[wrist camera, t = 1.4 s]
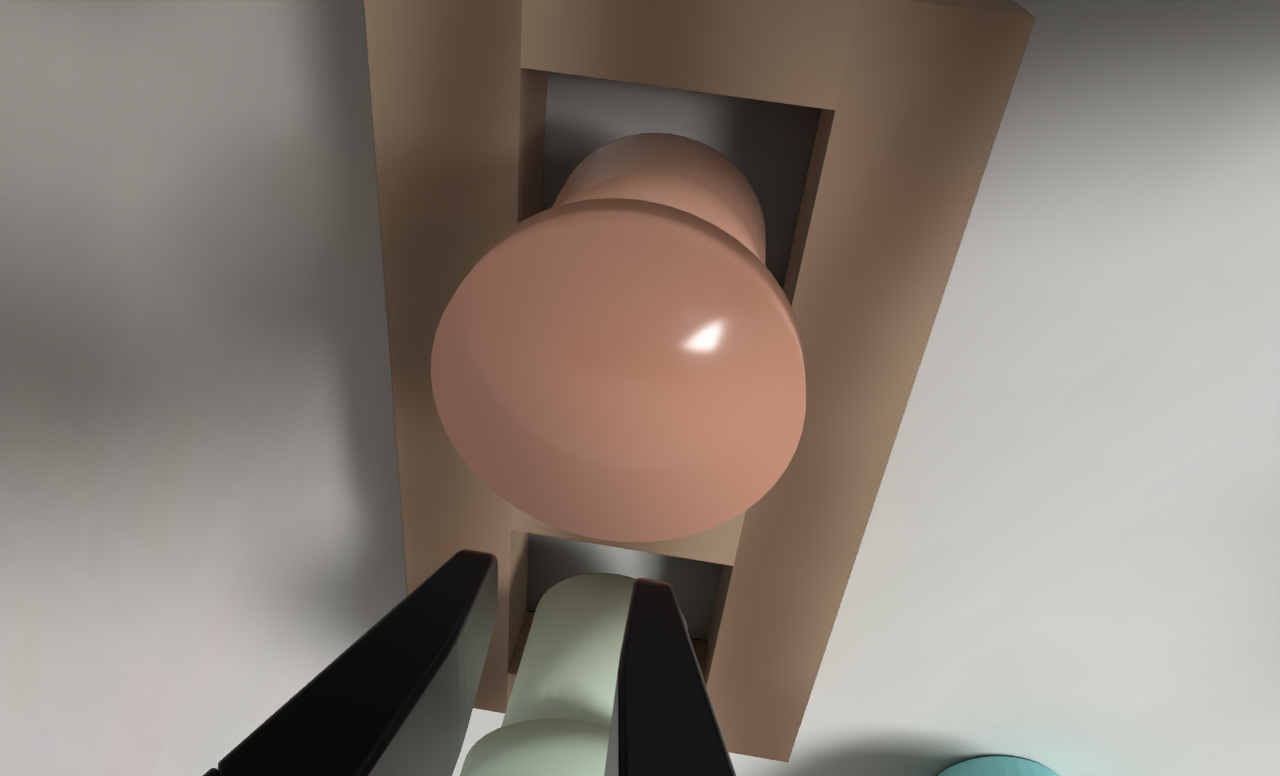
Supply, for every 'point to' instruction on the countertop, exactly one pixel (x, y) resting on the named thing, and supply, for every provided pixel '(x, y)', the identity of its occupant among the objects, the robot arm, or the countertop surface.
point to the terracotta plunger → (627, 350)
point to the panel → (814, 285)
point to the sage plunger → (562, 684)
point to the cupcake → (998, 767)
